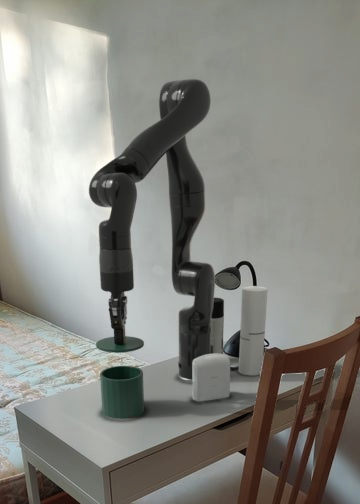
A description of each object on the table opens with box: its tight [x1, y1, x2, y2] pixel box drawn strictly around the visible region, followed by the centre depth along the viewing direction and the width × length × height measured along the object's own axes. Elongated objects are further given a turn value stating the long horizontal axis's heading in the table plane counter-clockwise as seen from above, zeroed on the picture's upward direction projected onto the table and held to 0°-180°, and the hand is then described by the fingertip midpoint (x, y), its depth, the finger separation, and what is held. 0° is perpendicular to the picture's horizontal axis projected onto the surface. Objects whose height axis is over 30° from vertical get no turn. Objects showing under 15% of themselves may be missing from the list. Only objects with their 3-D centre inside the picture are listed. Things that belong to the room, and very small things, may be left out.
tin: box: [99, 365, 145, 420], centre depth 132 cm, size 10×10×10 cm
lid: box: [95, 328, 145, 354], centre depth 126 cm, size 11×11×6 cm
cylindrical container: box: [238, 285, 268, 376], centre depth 156 cm, size 7×7×25 cm
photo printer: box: [191, 353, 231, 402], centre depth 139 cm, size 10×4×12 cm, turn 109°
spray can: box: [211, 297, 225, 354], centre depth 165 cm, size 7×7×20 cm
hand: (120, 341), depth 127 cm, fingers closed on lid, 2 cm apart
